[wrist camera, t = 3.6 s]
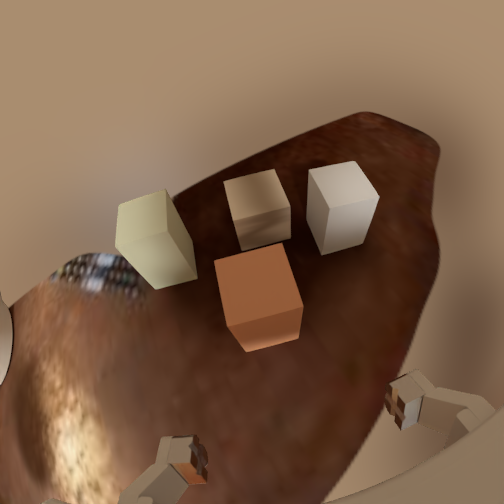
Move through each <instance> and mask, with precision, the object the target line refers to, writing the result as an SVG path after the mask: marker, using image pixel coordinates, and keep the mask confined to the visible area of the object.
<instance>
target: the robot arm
mask: <svg viewBox="0 0 504 504" xmlns="http://www.w3.org/2000/svg"><path fill="white" fill-rule="evenodd" d="M11 350H12V321H11V315H10V312H9V309H8V307H7V306H6V304H5V303H4V302H3V301H2V299H1V293H0V385H1V383H2V382H3V380H4V378H5V375H6V372H7V369H8V366H9V361H10V356H11ZM385 390H386V391H387V394H386V395H385V405H386V408H387V410H388V412H389V414H390V415H393V416H395V423H396V424H397V425H398V427H399V428H400V430H403V429H405V428H407V427H409V426H411V425H413V424H415V423H417V422H418V424H420V425H423V426H425V427H427V428H430V429H432V430H435V431H437V432H440V433H442V434H445V435H447V436H448V439H447V442H446V444H445V446H444V450H442V451H441V452H439V453H438V454H436V455H434V456H432V457H431V458H429V459H427V460H426V461H424V462H422V463H420V464H418V465H417V466H415V467H413V468H411V469H409V470H407V471H405V472H403V473H401V474H399V475H397V476H395V477H393V478H391V479H388V480H386V481H384V482H382V483H379V484H377V485H375V486H372V487H370V488H367V489H365V490H362V491H359V492H357V493H354V494H351V495H348V496H345V497H343V498H339V499H337V500H333V501H330V502H327V503H323V504H504V404H503V405H502V406H501V407H500V408H499V409H498V410H497V411H496V410H495V409H494V408H493V407H492V406H491V405H490V404H489V403H488V402H487V401H486V400H485V399H484V398H483V397H481V396H479V395H473V394H468V393H463V392H459V391H454V390H449V389H445V388H441V387H438V388H435V387H434V386H433V385H432V384H431V383H430V382H429V380H428V379H427V378H426V377H424V375H423V374H422V373H421V372H420V371H419V370H417V369H415V370H413V371H411V372H409V373H407V374H404V375H402V376H400V377H398V378H396V379H394V380H392V381H390V382H387V383H386V385H385ZM207 464H208V456H207V452H206V449H205V447H204V446H203V445H202V444H200V443H199V438H198V437H197V435H184V436H169V437H162V438H161V440H160V444H159V449H158V453H157V458H156V463H155V464H152V465H151V466H150V467H149V468H148V469H147V470H146V471H145V472H144V473H142V474H141V475H140V476H139V477H138V478H137V479H136V480H135V481H134V482H133V483H132V484H130V485H129V486H128V487H127V488H126V489H125V490H124V491H123V492H121V493H120V497H119V501H118V504H175V503H176V502H177V501H178V499H179V498H180V497H181V495H182V494H183V493H184V491H185V490H186V489H187V487H188V486H189V485H188V484H202V483H207V473H208V471H207V470H206V469H205V466H206V465H207ZM41 504H70V503H67V502H64V501H61V500H58V499H49V500H46V501H44V502H43V503H41Z"/></svg>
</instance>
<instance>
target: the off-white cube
mask: <svg viewBox="0 0 504 504" xmlns="http://www.w3.org/2000/svg"><path fill="white" fill-rule="evenodd" d="M223 182H224V186H225V190H226V194H227V198H228V202H229V206H230V210H231V215H232V219H233V222H234V226H235V229H236V233H237V236H238V240H239V243H240V247H241V250H242V251H244V250H248V249H252V248H256V247H260V246H263V245H267V244H271V243H275V242H279V241H282V240H286V239H290V238H291V212H290V204H289V202H288V199H287V197H286V195H285V192H284V190H283V188H282V186H281V183H280V181H279V179H278V177H277V174H276V172H275V170H274V169H272V170H267V171H263V172H259V173H255V174H250V175H246V176H242V177H238V178H234V179H231V180H227V181H223Z"/></svg>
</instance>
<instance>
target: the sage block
mask: <svg viewBox="0 0 504 504" xmlns="http://www.w3.org/2000/svg"><path fill="white" fill-rule="evenodd" d="M115 247H116V248H117V249H118V250H119V251H120V253H121V254H122V255H123V256H124V257H125V258H126V259H127V260H128V261H129V262H130V264H131V265H132V266H133V267H134V268H135V269H136V270H137V271H138V272H139V273H140V274H141V275H142V276H143V277H144V278H145V279H146V280H147V281H148V282H149V283H150V284H151V285H152V286H153V287H154V289H155V290H156V289H160V288H163V287H167V286H171V285H175V284H179V283H183V282H187V281H191V280H195V279H198V277H197V270H196V263H195V256H194V249H193V242H192V239H191V238H190V236H189V234H188V232H187V230H186V228H185V226H184V224H183V222H182V220H181V218H180V216H179V214H178V212H177V210H176V208H175V206H174V204H173V202H172V200H171V198H170V196H169V194H168V193H167V190H166V189H164V190H161V191H158V192H155V193H152V194H148V195H146V196H143V197H140V198H137V199H134V200H131V201H128V202H126V203H122V204H120V205H119V209H118V219H117V229H116V242H115Z"/></svg>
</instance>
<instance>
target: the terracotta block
mask: <svg viewBox="0 0 504 504" xmlns="http://www.w3.org/2000/svg"><path fill="white" fill-rule="evenodd" d="M214 263H215V269H216V274H217V279H218V284H219V289H220V294H221V299H222V304H223V309H224V314H225V319H226V323H227V327H228V328H229V330H230V331H231V332H232V334H233V335H234V337H235V338H236V339H237V341H238V342H239V343H240V345H241V346H242V347H243V348H244V350H245V351H246V352H249V351H253V350H257V349H261V348H265V347H269V346H272V345H276V344H280V343H283V342H287V341H291V340H294V339H297V338H299V332H300V326H301V319H302V313H303V307H304V306H303V303H302V300H301V297H300V294H299V291H298V288H297V285H296V282H295V279H294V276H293V273H292V270H291V268H290V265H289V262H288V259H287V256H286V253H285V250H284V247H283V245H282V243H279V244H275V245H271V246H268V247H264V248H260V249H256V250H252V251H249V252H245V253H241V254H237V255H233V256H230V257H226V258H222V259H218V260H215V261H214Z"/></svg>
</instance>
